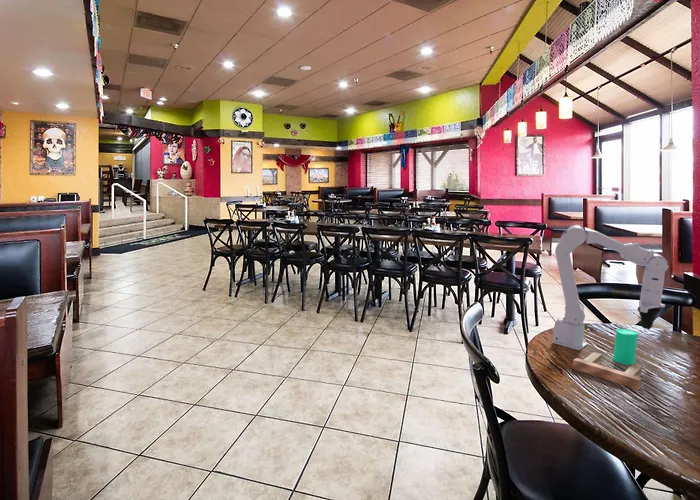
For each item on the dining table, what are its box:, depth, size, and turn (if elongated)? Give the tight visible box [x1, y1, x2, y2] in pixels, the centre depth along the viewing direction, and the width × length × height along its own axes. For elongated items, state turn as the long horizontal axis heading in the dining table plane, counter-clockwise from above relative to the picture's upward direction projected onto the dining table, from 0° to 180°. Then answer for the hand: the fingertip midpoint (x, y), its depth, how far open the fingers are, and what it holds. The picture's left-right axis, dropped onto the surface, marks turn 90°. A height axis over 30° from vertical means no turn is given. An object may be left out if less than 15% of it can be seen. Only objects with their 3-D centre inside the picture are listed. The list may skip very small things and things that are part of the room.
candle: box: [612, 326, 639, 366], centre depth 136 cm, size 6×6×12 cm
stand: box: [572, 351, 643, 391], centre depth 129 cm, size 18×11×3 cm, turn 41°
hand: (646, 328), depth 139 cm, fingers closed
